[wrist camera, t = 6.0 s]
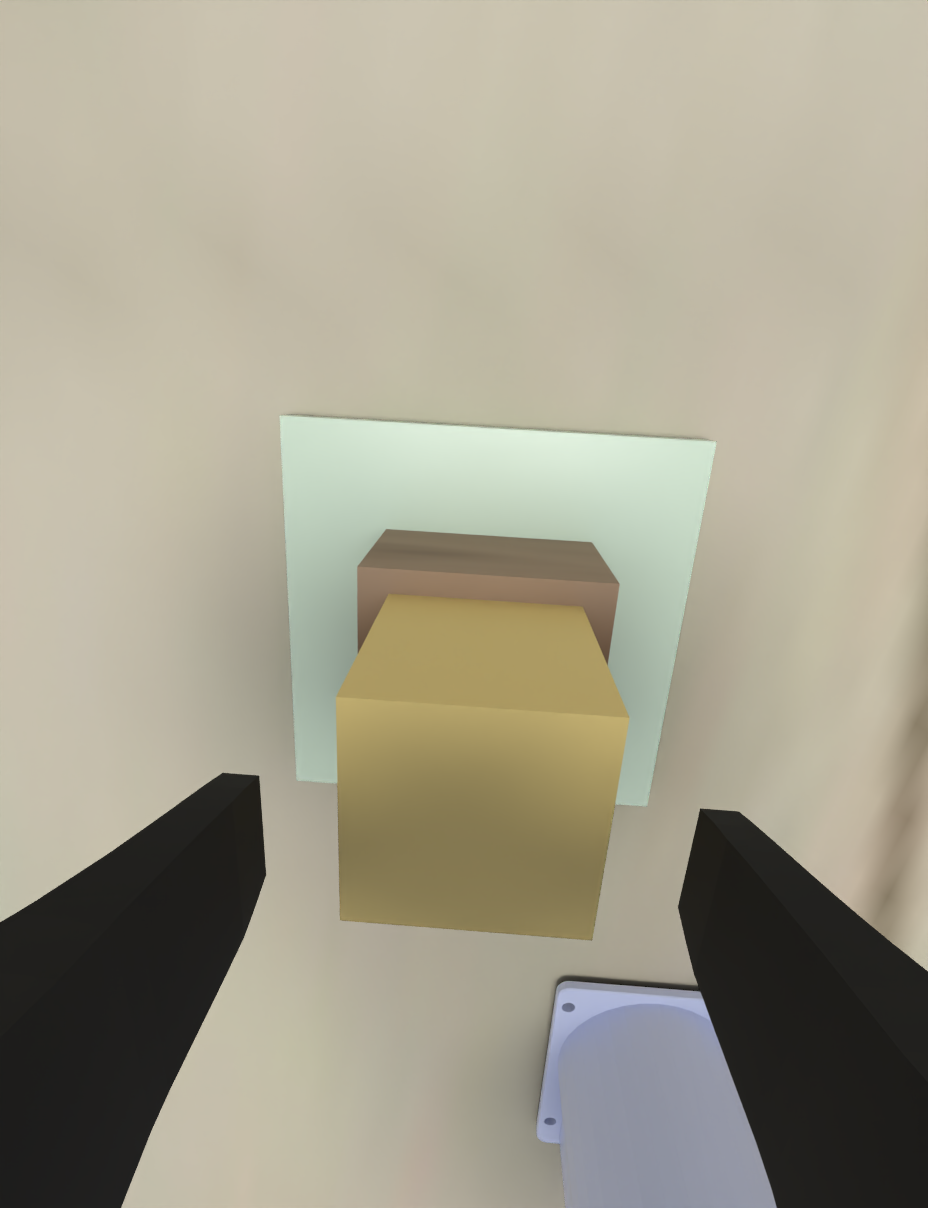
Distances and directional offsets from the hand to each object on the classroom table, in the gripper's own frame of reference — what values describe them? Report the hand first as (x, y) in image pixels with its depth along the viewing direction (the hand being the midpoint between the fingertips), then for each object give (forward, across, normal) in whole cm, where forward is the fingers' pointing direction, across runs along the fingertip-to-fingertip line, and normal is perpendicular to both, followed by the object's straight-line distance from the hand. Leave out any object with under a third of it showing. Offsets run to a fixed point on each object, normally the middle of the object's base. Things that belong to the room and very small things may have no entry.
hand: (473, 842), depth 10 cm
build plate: (+10, 0, 0) cm, 10 cm away
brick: (+5, 0, 0) cm, 5 cm away
